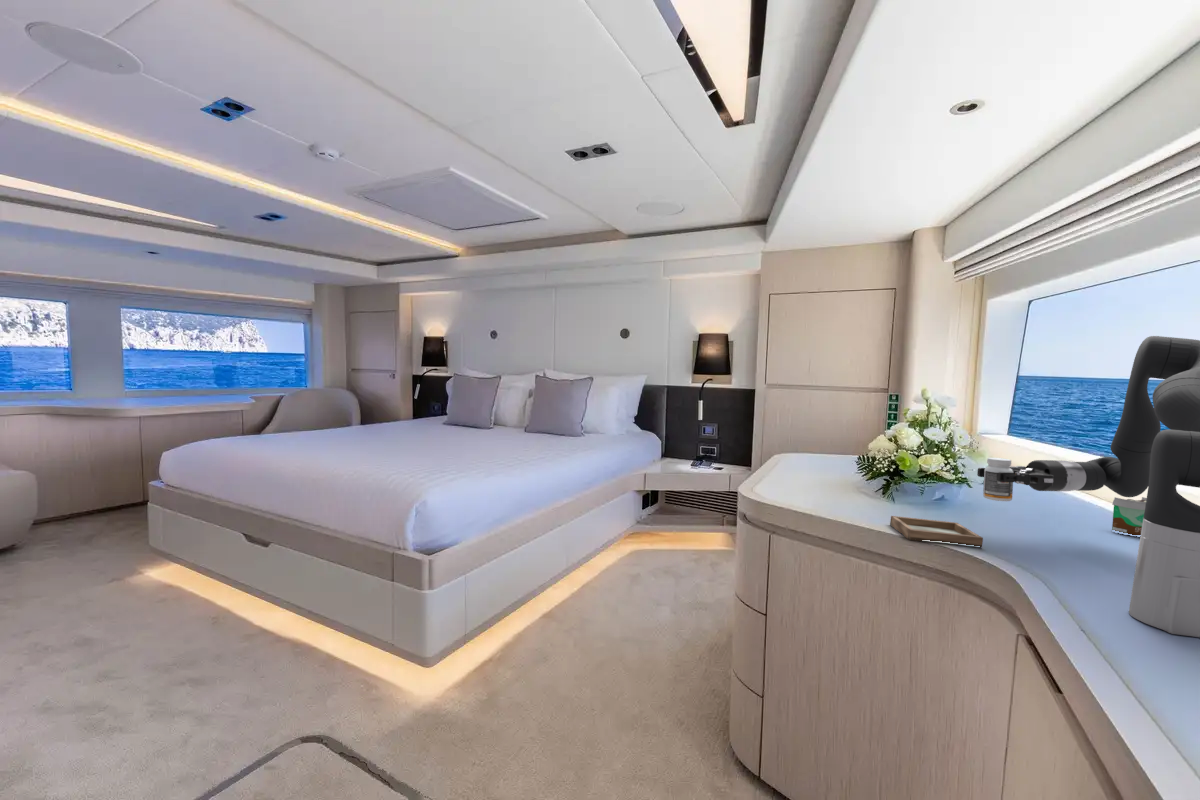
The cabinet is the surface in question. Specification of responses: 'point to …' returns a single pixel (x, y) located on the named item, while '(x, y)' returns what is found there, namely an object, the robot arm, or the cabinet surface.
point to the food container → (1128, 515)
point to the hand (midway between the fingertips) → (988, 474)
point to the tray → (935, 531)
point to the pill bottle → (992, 485)
